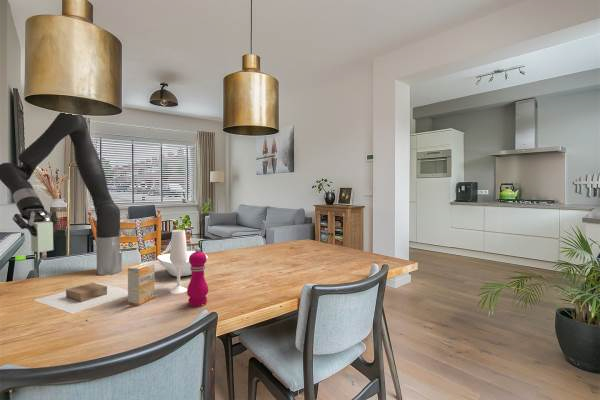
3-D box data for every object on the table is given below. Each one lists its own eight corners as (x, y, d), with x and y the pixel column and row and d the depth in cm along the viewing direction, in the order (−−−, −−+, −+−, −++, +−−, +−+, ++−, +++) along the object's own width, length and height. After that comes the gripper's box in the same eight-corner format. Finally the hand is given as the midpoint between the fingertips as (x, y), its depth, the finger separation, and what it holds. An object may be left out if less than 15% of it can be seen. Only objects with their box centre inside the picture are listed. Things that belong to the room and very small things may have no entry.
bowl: (152, 273, 145) (152, 255, 144) (194, 266, 159) (194, 249, 158) (167, 284, 129) (167, 264, 129) (213, 275, 143) (213, 257, 143)
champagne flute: (167, 293, 118) (167, 232, 117) (172, 288, 124) (171, 229, 123) (185, 293, 119) (185, 231, 118) (189, 287, 125) (189, 229, 124)
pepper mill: (197, 308, 104) (197, 250, 103) (182, 304, 108) (182, 248, 107) (212, 301, 111) (212, 247, 110) (198, 298, 114) (198, 244, 113)
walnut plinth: (92, 290, 118) (92, 282, 117) (107, 294, 114) (106, 286, 113) (66, 297, 109) (65, 289, 109) (80, 302, 106) (80, 293, 105)
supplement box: (139, 306, 106) (139, 268, 105) (127, 304, 107) (127, 267, 106) (155, 297, 114) (155, 262, 113) (143, 296, 115) (143, 261, 114)
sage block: (46, 248, 124) (46, 221, 123) (53, 250, 122) (52, 222, 121) (31, 250, 119) (30, 222, 119) (38, 252, 117) (37, 223, 116)
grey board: (98, 285, 127) (98, 282, 127) (136, 294, 116) (136, 292, 116) (33, 302, 107) (33, 300, 107) (72, 316, 96) (72, 313, 96)
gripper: (8, 196, 116) (25, 230, 112) (52, 195, 129) (69, 225, 124) (2, 209, 119) (18, 243, 114) (46, 207, 132) (62, 237, 127)
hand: (44, 234), depth 119 cm, fingers closed on sage block, 5 cm apart
